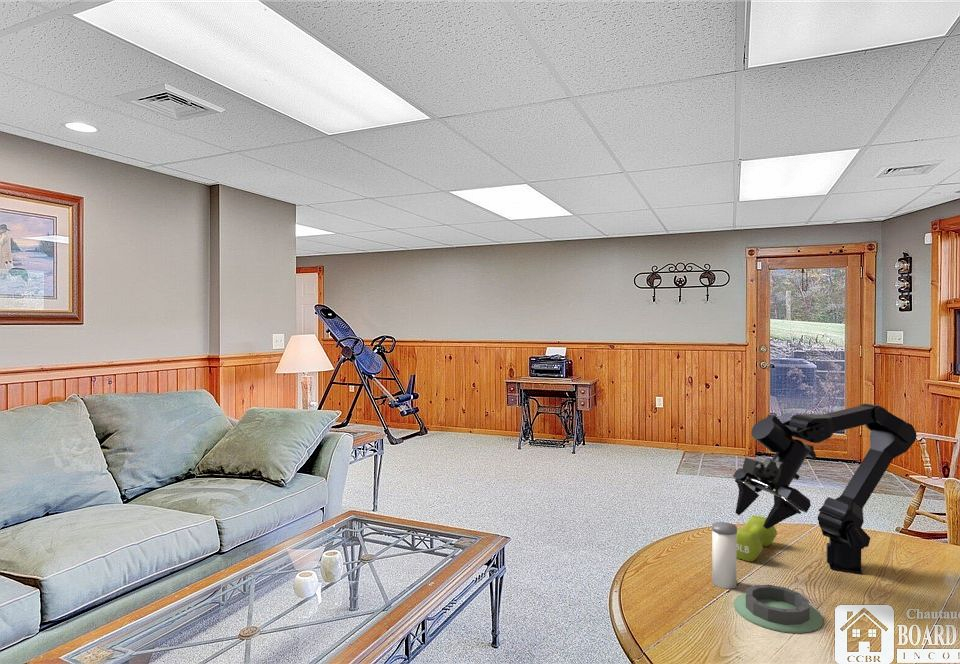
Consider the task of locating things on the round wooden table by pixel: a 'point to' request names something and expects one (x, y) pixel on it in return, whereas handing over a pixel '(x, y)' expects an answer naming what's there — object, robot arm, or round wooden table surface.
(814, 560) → the round wooden table surface
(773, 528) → the dumbbell
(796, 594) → the green round disc
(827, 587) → the round wooden table surface
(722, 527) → the white gray-capped cylinder
